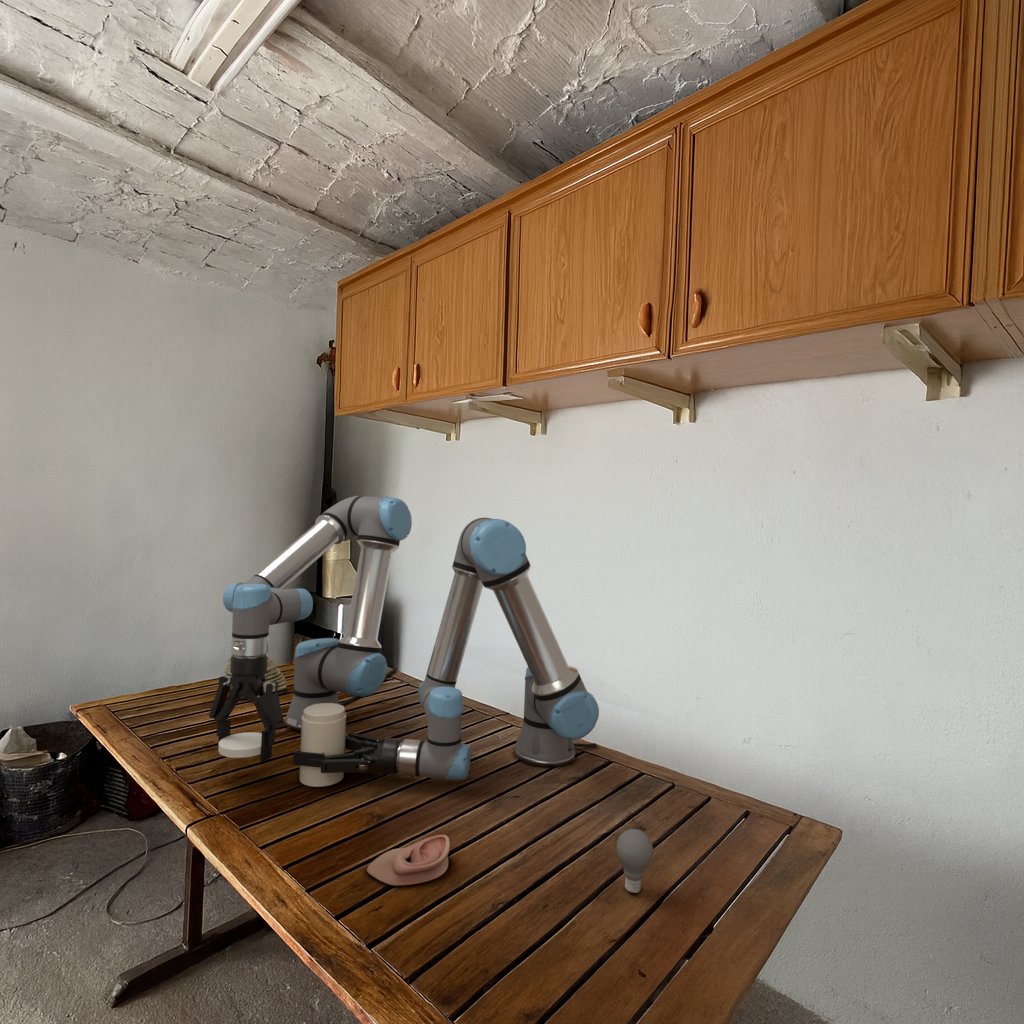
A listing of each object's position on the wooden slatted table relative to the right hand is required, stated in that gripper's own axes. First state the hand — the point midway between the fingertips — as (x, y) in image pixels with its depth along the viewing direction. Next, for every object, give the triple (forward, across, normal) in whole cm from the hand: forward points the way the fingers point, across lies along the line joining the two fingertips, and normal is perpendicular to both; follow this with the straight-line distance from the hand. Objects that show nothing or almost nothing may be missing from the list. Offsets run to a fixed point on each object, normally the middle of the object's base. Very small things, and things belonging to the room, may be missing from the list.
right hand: (304, 748), depth 143 cm
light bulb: (-71, -31, -6) cm, 78 cm away
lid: (+11, -5, +2) cm, 13 cm away
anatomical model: (-33, -31, -6) cm, 45 cm away
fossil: (+39, +51, -6) cm, 64 cm away
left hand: (+11, -5, 0) cm, 12 cm away
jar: (-4, 0, -6) cm, 7 cm away
